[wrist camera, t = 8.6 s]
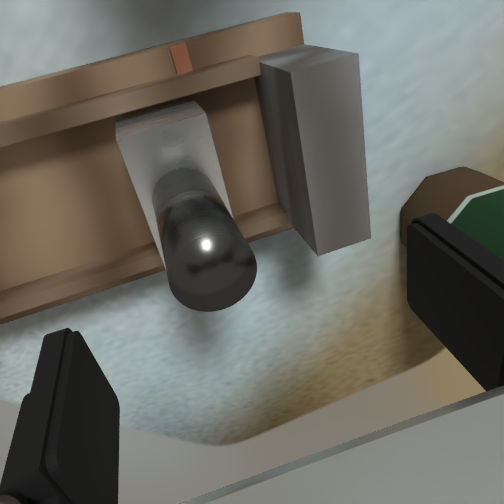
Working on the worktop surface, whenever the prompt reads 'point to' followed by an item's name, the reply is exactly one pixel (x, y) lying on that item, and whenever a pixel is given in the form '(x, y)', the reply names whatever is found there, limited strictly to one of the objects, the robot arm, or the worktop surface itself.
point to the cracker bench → (225, 141)
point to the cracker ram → (187, 204)
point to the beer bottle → (461, 205)
